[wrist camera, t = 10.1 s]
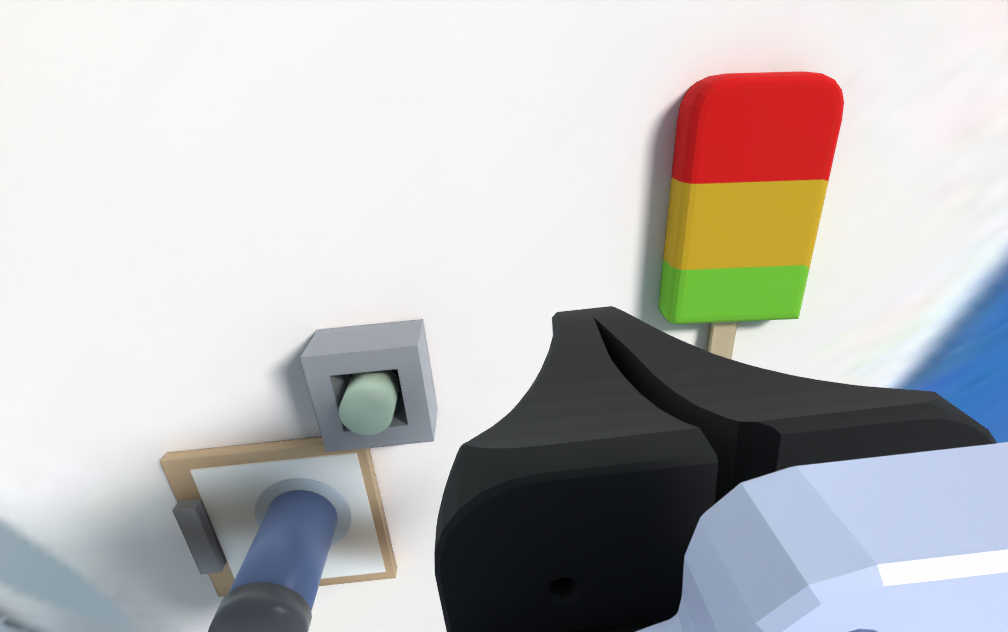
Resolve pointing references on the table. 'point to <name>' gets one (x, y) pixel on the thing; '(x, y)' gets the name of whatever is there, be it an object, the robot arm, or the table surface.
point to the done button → (369, 402)
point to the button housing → (367, 352)
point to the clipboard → (257, 482)
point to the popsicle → (747, 198)
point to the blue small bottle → (281, 567)
